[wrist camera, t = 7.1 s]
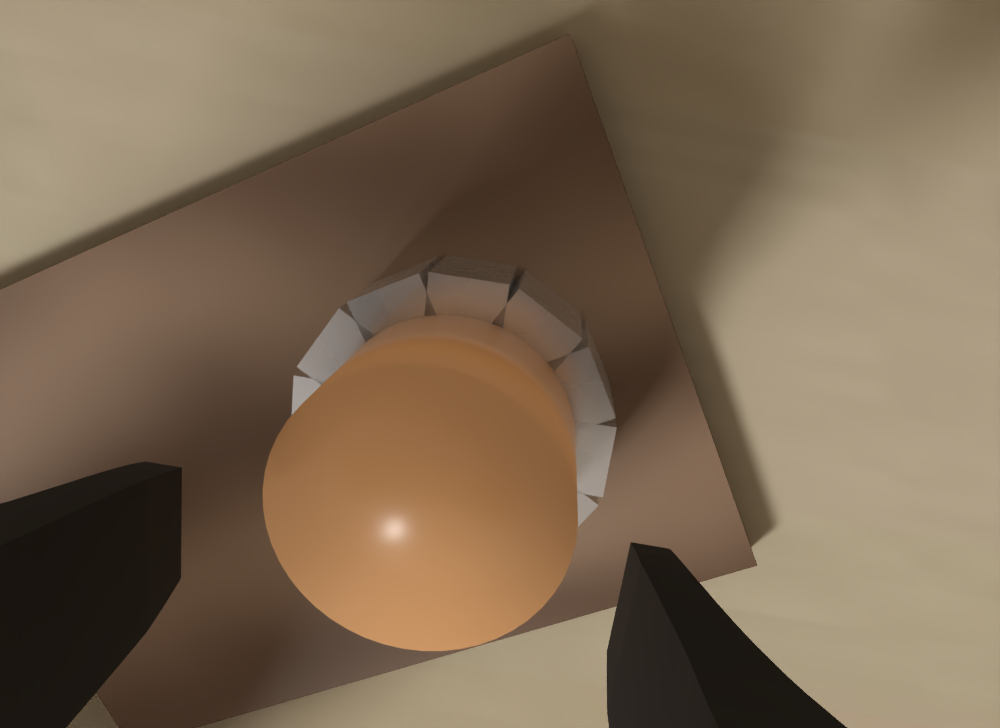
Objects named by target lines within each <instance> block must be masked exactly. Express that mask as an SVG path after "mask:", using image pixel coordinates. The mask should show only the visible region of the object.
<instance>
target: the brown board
mask: <svg viewBox="0 0 1000 728" xmlns="http://www.w3.org/2000/svg"><path fill="white" fill-rule="evenodd" d="M447 255H452V256H458V257H465V258H471V259H478V260H485V261H491V262H498V263H504V264H511V265H517V271H516V278H515V282H516V281H517V280H518V278H519V277H520V276H521V275H522V273H523V272H524V271H525V270H527V271H529V272H530V273H531V274H533V275H534V276H535V277H536V278H538V279H539V280H540V281H541V282H543V283H544V284H545V285H546V286H548V287H549V288H550V289H551V290H553V291H554V292H555V293H556V294H558V295H559V296H560V297H561V298H563V299H564V300H565V301H567V302H568V303H569V304H570V305H572V306H573V307H574V308H575V309H577V310H578V311H579V312H580V313H581V321H584V320H586V322H587V324H588V327H589V329H590V332H591V335H592V337H593V340H594V343H595V345H596V348H597V350H598V353H599V356H600V358H601V361H602V363H603V366H604V369H605V371H606V374H607V377H608V379H609V382H610V387H611V393H612V398H613V404H614V410H615V415H616V418H615V420H616V426H617V429H616V434H615V439H614V444H613V449H612V454H611V459H610V464H609V469H608V474H607V479H606V484H605V489H604V494H603V497H598V504H599V506H598V507H597V508H596V509H595V510H594V511H593V512H592V513H591V514H590V515H589V516H588V517H587V518H586V519H585V520H584V521H583V522H582V523H581V525H580V526H579V527H578V530H577V538H576V545H575V549H574V552H573V556H572V560H571V563H570V565H569V567H568V569H567V572H566V574H565V576H564V579H563V580H562V582H561V583H560V585H559V586H558V588H557V590H556V591H555V593H554V594H553V595H552V597H551V598H550V599H549V600H548V601H547V603H546V604H545V605H544V606H543V607H542V608H541V609H540V610H539V611H538V612H537V613H536V614H535V615H533V616H532V617H531V618H530V619H529V620H528V621H526V622H525V623H523V624H522V625H520V626H519V627H517V628H516V629H514V630H513V631H511V632H509V633H507V634H505V635H503V636H501V637H499V638H497V639H494V640H492V641H489V642H486V643H483V644H487V643H490V642H494V641H497V640H501V639H504V638H508V637H511V636H515V635H518V634H522V633H525V632H529V631H532V630H535V629H539V628H542V627H546V626H549V625H553V624H556V623H560V622H563V621H567V620H570V619H574V618H577V617H580V616H584V615H587V614H591V613H594V612H598V611H601V610H605V609H608V608H612V607H615V606H617V603H618V599H619V594H620V589H621V585H622V580H623V575H624V571H625V566H626V562H627V557H628V552H629V548H630V543H631V542H633V543H639V544H645V545H651V546H657V547H663V548H669V549H671V550H672V551H673V552H674V553H675V555H676V556H677V557H678V558H679V559H680V560H681V561H682V563H683V564H684V565H685V566H686V567H687V568H688V570H689V571H690V572H691V573H692V574H693V576H694V577H695V578H696V579H697V580H698V582H702V581H705V580H709V579H712V578H716V577H719V576H723V575H726V574H729V573H733V572H736V571H740V570H743V569H747V568H750V567H754V566H757V563H756V560H755V558H754V555H753V552H752V549H751V546H750V543H749V541H748V538H747V535H746V532H745V529H744V526H743V524H742V521H741V518H740V515H739V512H738V509H737V506H736V504H735V501H734V498H733V495H732V492H731V489H730V487H729V484H728V481H727V478H726V475H725V472H724V470H723V467H722V464H721V461H720V458H719V455H718V452H717V450H716V447H715V444H714V441H713V438H712V435H711V433H710V430H709V427H708V424H707V421H706V418H705V416H704V413H703V410H702V407H701V404H700V401H699V398H698V396H697V393H696V390H695V387H694V384H693V381H692V379H691V376H690V373H689V370H688V367H687V364H686V362H685V359H684V356H683V353H682V350H681V347H680V344H679V342H678V339H677V336H676V333H675V330H674V327H673V325H672V322H671V319H670V316H669V313H668V310H667V308H666V305H665V302H664V299H663V296H662V293H661V290H660V288H659V285H658V282H657V279H656V276H655V273H654V271H653V268H652V265H651V262H650V259H649V256H648V254H647V251H646V248H645V245H644V242H643V239H642V236H641V234H640V231H639V228H638V225H637V222H636V219H635V217H634V214H633V211H632V208H631V205H630V202H629V200H628V197H627V194H626V191H625V188H624V185H623V183H622V180H621V177H620V174H619V171H618V168H617V165H616V163H615V160H614V157H613V154H612V151H611V148H610V146H609V143H608V140H607V137H606V134H605V131H604V129H603V126H602V123H601V120H600V117H599V114H598V111H597V109H596V106H595V103H594V100H593V97H592V94H591V92H590V89H589V86H588V83H587V80H586V77H585V75H584V72H583V69H582V66H581V63H580V60H579V57H578V55H577V52H576V49H575V46H574V43H573V40H572V38H571V35H570V34H568V35H565V36H563V37H561V38H559V39H556V40H554V41H552V42H550V43H548V44H545V45H543V46H541V47H539V48H536V49H534V50H532V51H530V52H528V53H525V54H523V55H521V56H519V57H516V58H514V59H512V60H510V61H508V62H505V63H503V64H501V65H499V66H496V67H494V68H492V69H490V70H488V71H485V72H483V73H481V74H479V75H476V76H474V77H472V78H470V79H468V80H465V81H463V82H461V83H459V84H456V85H454V86H452V87H450V88H448V89H445V90H443V91H441V92H439V93H436V94H434V95H432V96H430V97H428V98H425V99H423V100H421V101H419V102H416V103H414V104H412V105H410V106H408V107H405V108H403V109H401V110H399V111H396V112H394V113H392V114H390V115H388V116H385V117H383V118H381V119H379V120H376V121H374V122H372V123H370V124H368V125H365V126H363V127H361V128H359V129H356V130H354V131H352V132H350V133H348V134H345V135H343V136H341V137H339V138H336V139H334V140H332V141H330V142H328V143H325V144H323V145H321V146H319V147H316V148H314V149H312V150H310V151H308V152H305V153H303V154H301V155H299V156H296V157H294V158H292V159H290V160H287V161H285V162H283V163H281V164H279V165H276V166H274V167H272V168H270V169H267V170H265V171H263V172H261V173H259V174H256V175H254V176H252V177H250V178H247V179H245V180H243V181H241V182H239V183H236V184H234V185H232V186H230V187H227V188H225V189H223V190H221V191H219V192H216V193H214V194H212V195H210V196H207V197H205V198H203V199H201V200H199V201H196V202H194V203H192V204H190V205H187V206H185V207H183V208H181V209H179V210H176V211H174V212H172V213H170V214H167V215H165V216H163V217H161V218H159V219H156V220H154V221H152V222H150V223H147V224H145V225H143V226H141V227H139V228H136V229H134V230H132V231H130V232H127V233H125V234H123V235H121V236H119V237H116V238H114V239H112V240H110V241H107V242H105V243H103V244H101V245H99V246H96V247H94V248H92V249H90V250H87V251H85V252H83V253H81V254H79V255H76V256H74V257H72V258H70V259H67V260H65V261H63V262H61V263H59V264H56V265H54V266H52V267H50V268H47V269H45V270H43V271H41V272H39V273H36V274H34V275H32V276H30V277H27V278H25V279H23V280H21V281H19V282H16V283H14V284H12V285H10V286H7V287H5V288H3V289H1V290H0V504H1V503H4V502H8V501H11V500H15V499H18V498H21V497H24V496H27V495H30V494H34V493H37V492H40V491H43V490H46V489H49V488H53V487H56V486H59V485H62V484H65V483H68V482H71V481H75V480H78V479H81V478H84V477H87V476H91V475H94V474H97V473H100V472H104V471H107V470H111V469H114V468H118V467H122V466H125V465H130V464H134V463H139V462H145V461H146V462H152V463H158V464H164V465H170V466H176V467H182V526H181V579H180V581H179V582H178V584H177V586H176V587H175V589H174V591H173V592H172V594H171V596H170V597H169V599H168V600H167V602H166V604H165V605H164V607H163V609H162V610H161V612H160V613H159V615H158V616H157V618H156V619H155V621H154V622H153V624H152V625H151V627H150V628H149V630H148V631H147V632H146V634H145V635H144V636H143V637H142V639H141V640H140V641H139V642H138V643H137V645H136V646H135V647H134V648H133V649H132V651H131V652H130V653H129V654H128V655H127V657H126V658H125V659H124V660H123V661H122V663H121V664H120V665H119V666H118V667H117V669H116V670H115V671H114V672H113V673H112V674H111V676H110V677H109V678H108V679H107V680H106V681H105V683H104V684H103V685H102V686H101V687H100V688H99V690H98V691H97V692H96V693H97V694H98V696H99V697H100V699H101V700H102V702H103V703H104V705H105V707H106V708H107V710H108V711H109V713H110V714H111V716H112V717H113V719H114V721H115V722H116V724H117V725H118V727H119V728H196V727H199V726H203V725H206V724H210V723H213V722H217V721H220V720H224V719H227V718H231V717H234V716H237V715H241V714H244V713H248V712H251V711H255V710H258V709H262V708H265V707H269V706H272V705H276V704H279V703H283V702H286V701H289V700H293V699H296V698H300V697H303V696H307V695H310V694H314V693H317V692H321V691H324V690H328V689H331V688H334V687H338V686H341V685H345V684H348V683H352V682H355V681H359V680H362V679H366V678H369V677H373V676H376V675H380V674H383V673H386V672H390V671H393V670H397V669H400V668H404V667H407V666H411V665H414V664H418V663H421V662H425V661H428V660H432V659H435V658H438V657H442V656H445V655H449V654H452V653H456V652H459V651H463V650H466V649H470V648H473V647H477V646H480V645H483V644H480V645H477V646H472V647H468V648H463V649H457V650H448V651H417V650H409V649H402V648H397V647H393V646H389V645H385V644H381V643H378V642H376V641H373V640H370V639H367V638H364V637H362V636H360V635H358V634H356V633H354V632H352V631H350V630H348V629H346V628H344V627H343V626H341V625H340V624H338V623H336V622H335V621H333V620H332V619H330V618H329V617H328V616H326V615H325V614H324V613H322V612H321V611H320V610H319V609H317V608H316V607H315V606H314V605H313V604H312V603H311V602H310V601H309V600H308V599H307V598H306V597H305V596H304V595H303V594H302V593H301V592H300V591H299V589H298V588H297V587H296V586H295V584H294V583H293V582H292V581H291V579H290V578H289V577H288V575H287V573H286V572H285V570H284V568H283V567H282V565H281V564H280V562H279V560H278V558H277V555H276V553H275V551H274V549H273V547H272V544H271V541H270V538H269V535H268V531H267V528H266V523H265V517H264V511H263V482H264V474H265V469H266V465H267V462H268V458H269V454H270V452H271V449H272V447H273V445H274V443H275V440H276V438H277V436H278V434H279V433H280V431H281V430H282V428H283V427H284V425H285V423H286V422H287V420H288V419H289V418H290V417H291V415H292V396H293V378H294V375H295V374H296V373H297V372H298V371H300V369H299V368H298V367H297V366H298V364H299V363H300V362H301V360H302V359H303V357H304V356H305V355H306V353H307V352H308V350H309V349H310V348H311V346H312V345H313V343H314V342H315V341H316V339H317V338H318V337H319V335H320V334H321V332H322V331H323V330H324V328H325V327H326V325H327V324H328V323H329V321H330V320H331V318H332V317H333V316H334V314H335V313H336V312H337V310H338V309H339V308H340V307H341V306H343V305H344V304H345V303H347V302H348V301H349V300H350V299H352V298H353V297H355V296H356V295H357V294H359V293H360V292H362V291H363V290H364V289H366V288H367V287H369V286H370V285H372V284H373V283H374V282H376V281H378V280H380V279H383V278H385V277H388V276H390V275H393V274H395V273H398V272H400V271H403V270H405V269H408V268H410V267H413V266H415V265H418V264H420V263H423V262H425V261H428V260H430V259H432V258H435V257H437V256H439V258H440V260H441V261H442V260H443V259H444V258H445V257H446V256H447Z"/></svg>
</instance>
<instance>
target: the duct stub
mask: <svg viewBox="0 0 1000 728" xmlns="http://www.w3.org/2000/svg"><path fill="white" fill-rule="evenodd" d="M516 271H517V265H511V264H504V263H498V262H491V261H485V260H478V259H471V258H465V257H458V256H452V255H447V256H446V257H445V258H444V259H443V260H442V261H441V260H440V258H439V256H437V257H435V258H432V259H430V260H428V261H425V262H423V263H420V264H418V265H415V266H413V267H410V268H408V269H405V270H403V271H400V272H398V273H395V274H393V275H390V276H388V277H385V278H383V279H380V280H378V281H376V282H374V283H373V284H372V285H370V286H369V287H367V288H366V289H364V290H363V291H362V292H360V293H359V294H357V295H356V296H355V297H353V298H352V299H350V300H349V301H348V302H347V303H345V304H344V305H343V306H341V307H340V308H339V309H338V310H337V312H336V313H335V314H334V316H333V317H332V318H331V320H330V321H329V323H328V324H327V325H326V327H325V328H324V330H323V331H322V332H321V334H320V335H319V337H318V338H317V339H316V341H315V342H314V343H313V345H312V346H311V348H310V349H309V350H308V352H307V353H306V355H305V356H304V357H303V359H302V360H301V362H300V363H299V364H298V366H297V367H298V368H299V369H300V371H298V372H297V373H296V374H295V375H294V378H293V396H292V414H293V413H294V412H295V411H296V410H297V409H298V408H299V406H300V405H301V404H302V403H303V402H304V401H305V400H306V399H308V398H309V397H310V396H311V395H312V394H313V393H314V392H315V391H316V390H317V389H318V388H319V387H320V386H321V385H322V384H323V383H324V382H325V381H326V380H327V379H328V378H329V377H330V376H331V375H332V374H333V373H334V372H335V371H336V370H337V369H338V368H339V367H340V366H341V365H342V364H343V363H345V362H346V361H347V360H348V359H349V358H350V357H351V356H352V355H353V354H354V353H355V352H356V351H357V350H358V349H359V348H360V347H361V346H362V345H364V344H365V343H366V342H367V341H368V340H369V339H371V338H372V337H374V336H375V335H377V334H378V333H380V332H381V331H383V330H385V329H387V328H389V327H391V326H394V325H396V324H398V323H401V322H404V321H407V320H410V319H414V318H419V317H425V316H431V315H455V316H465V317H470V318H474V319H479V320H483V321H486V322H488V323H491V324H494V325H497V326H499V327H501V328H503V329H505V330H507V331H509V332H511V333H513V334H514V335H516V336H517V337H519V338H520V339H522V340H523V341H525V342H526V343H528V344H529V345H530V346H531V347H532V348H533V349H534V350H536V351H537V352H538V353H539V354H540V355H541V356H542V357H543V358H544V360H545V361H546V362H547V363H548V364H549V365H550V367H551V368H552V369H553V371H554V372H555V374H556V375H557V377H558V378H559V380H560V381H561V383H562V385H563V387H564V390H565V392H566V394H567V396H568V399H569V402H570V405H571V408H572V411H573V416H574V422H575V431H576V467H577V502H578V527H579V526H580V525H581V523H582V522H583V521H584V520H585V519H586V518H587V517H588V516H589V515H590V514H591V513H592V512H593V511H594V510H595V509H596V508H597V507H598V506H599V504H598V497H603V494H604V489H605V484H606V479H607V474H608V469H609V464H610V459H611V454H612V449H613V444H614V439H615V434H616V429H617V426H616V420H615V418H616V415H615V410H614V404H613V398H612V393H611V387H610V382H609V379H608V377H607V374H606V371H605V369H604V366H603V363H602V361H601V358H600V356H599V353H598V350H597V348H596V345H595V343H594V340H593V337H592V335H591V332H590V329H589V327H588V324H587V322H586V320H584V321H581V313H580V312H579V311H578V310H577V309H575V308H574V307H573V306H572V305H570V304H569V303H568V302H567V301H565V300H564V299H563V298H561V297H560V296H559V295H558V294H556V293H555V292H554V291H553V290H551V289H550V288H549V287H548V286H546V285H545V284H544V283H543V282H541V281H540V280H539V279H538V278H536V277H535V276H534V275H533V274H531V273H530V272H529V271H527V270H525V271H524V272H523V273H522V275H521V276H520V277H519V278H518V280H517V281H516V282H515V278H516ZM291 416H292V415H291Z"/></svg>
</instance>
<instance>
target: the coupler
mask: <svg viewBox="0 0 1000 728" xmlns="http://www.w3.org/2000/svg"><path fill="white" fill-rule="evenodd" d="M263 511H264V517H265V523H266V528H267V531H268V535H269V538H270V541H271V544H272V547H273V549H274V551H275V553H276V555H277V558H278V560H279V562H280V564H281V565H282V567H283V568H284V570H285V572H286V573H287V575H288V577H289V578H290V579H291V581H292V582H293V583H294V584H295V586H296V587H297V588H298V589H299V591H300V592H301V593H302V594H303V595H304V596H305V597H306V598H307V599H308V600H309V601H310V602H311V603H312V604H313V605H314V606H315V607H316V608H317V609H319V610H320V611H321V612H322V613H324V614H325V615H326V616H328V617H329V618H330V619H332V620H333V621H335V622H336V623H338V624H340V625H341V626H343V627H344V628H346V629H348V630H350V631H352V632H354V633H356V634H358V635H360V636H362V637H364V638H367V639H370V640H373V641H376V642H378V643H381V644H385V645H389V646H393V647H397V648H402V649H409V650H417V651H448V650H457V649H463V648H468V647H472V646H477V645H480V644H483V643H486V642H489V641H492V640H494V639H497V638H499V637H501V636H503V635H505V634H507V633H509V632H511V631H513V630H514V629H516V628H517V627H519V626H520V625H522V624H523V623H525V622H526V621H528V620H529V619H530V618H531V617H532V616H533V615H535V614H536V613H537V612H538V611H539V610H540V609H541V608H542V607H543V606H544V605H545V604H546V603H547V601H548V600H549V599H550V598H551V597H552V595H553V594H554V593H555V591H556V590H557V588H558V586H559V585H560V583H561V582H562V580H563V579H564V576H565V574H566V572H567V569H568V567H569V565H570V563H571V560H572V556H573V552H574V549H575V545H576V538H577V530H578V502H577V467H576V431H575V422H574V416H573V411H572V408H571V405H570V402H569V399H568V396H567V394H566V392H565V390H564V387H563V385H562V383H561V381H560V380H559V378H558V377H557V375H556V374H555V372H554V371H553V369H552V368H551V367H550V365H549V364H548V363H547V362H546V361H545V360H544V358H543V357H542V356H541V355H540V354H539V353H538V352H537V351H536V350H534V349H533V348H532V347H531V346H530V345H529V344H528V343H526V342H525V341H523V340H522V339H520V338H519V337H517V336H516V335H514V334H513V333H511V332H509V331H507V330H505V329H503V328H501V327H499V326H497V325H494V324H491V323H488V322H486V321H483V320H479V319H474V318H470V317H465V316H455V315H431V316H425V317H419V318H414V319H410V320H407V321H404V322H401V323H398V324H396V325H394V326H391V327H389V328H387V329H385V330H383V331H381V332H380V333H378V334H377V335H375V336H374V337H372V338H371V339H369V340H368V341H367V342H366V343H365V344H364V345H362V346H361V347H360V348H359V349H358V350H357V351H356V352H355V353H354V354H353V355H352V356H351V357H350V358H349V359H348V360H347V361H346V362H345V363H343V364H342V365H341V366H340V367H339V368H338V369H337V370H336V371H335V372H334V373H333V374H332V375H331V376H330V377H329V378H328V379H327V380H326V381H325V382H324V383H323V384H322V385H321V386H320V387H319V388H318V389H317V390H316V391H315V392H314V393H313V394H312V395H311V396H310V397H309V398H308V399H306V400H305V401H304V402H303V403H302V404H301V405H300V406H299V408H298V409H297V410H296V411H295V412H294V413H293V414H292V416H291V417H290V418H289V419H288V420H287V422H286V423H285V425H284V427H283V428H282V430H281V431H280V433H279V434H278V436H277V438H276V440H275V443H274V445H273V447H272V449H271V452H270V454H269V458H268V462H267V465H266V469H265V474H264V482H263Z"/></svg>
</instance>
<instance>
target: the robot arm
mask: <svg viewBox="0 0 1000 728" xmlns="http://www.w3.org/2000/svg"><path fill="white" fill-rule="evenodd" d="M181 526H182V467H176V466H170V465H164V464H158V463H152V462H146V461H145V462H139V463H134V464H130V465H125V466H122V467H118V468H114V469H111V470H107V471H104V472H100V473H97V474H94V475H91V476H87V477H84V478H81V479H78V480H75V481H71V482H68V483H65V484H62V485H59V486H56V487H53V488H49V489H46V490H43V491H40V492H37V493H34V494H30V495H27V496H24V497H21V498H18V499H15V500H11V501H8V502H4V503H1V504H0V728H66V727H67V726H68V725H69V724H70V722H71V721H72V720H73V719H74V718H75V717H76V715H77V714H78V713H79V712H80V711H81V709H82V708H83V707H84V706H85V705H86V704H87V702H88V701H89V700H90V699H91V698H92V697H93V695H94V694H95V693H96V692H97V691H98V690H99V688H100V687H101V686H102V685H103V684H104V683H105V681H106V680H107V679H108V678H109V677H110V676H111V674H112V673H113V672H114V671H115V670H116V669H117V667H118V666H119V665H120V664H121V663H122V661H123V660H124V659H125V658H126V657H127V655H128V654H129V653H130V652H131V651H132V649H133V648H134V647H135V646H136V645H137V643H138V642H139V641H140V640H141V639H142V637H143V636H144V635H145V634H146V632H147V631H148V630H149V628H150V627H151V625H152V624H153V622H154V621H155V619H156V618H157V616H158V615H159V613H160V612H161V610H162V609H163V607H164V605H165V604H166V602H167V600H168V599H169V597H170V596H171V594H172V592H173V591H174V589H175V587H176V586H177V584H178V582H179V581H180V579H181ZM607 713H608V722H609V728H847V727H845V726H844V725H843V724H842V723H841V722H839V721H838V720H837V719H836V718H835V717H833V716H832V715H831V714H830V713H829V712H828V711H826V710H825V709H824V708H823V707H822V706H820V705H819V704H818V703H817V702H816V701H814V700H813V699H812V698H811V697H810V696H809V695H807V694H806V693H805V692H804V691H803V690H802V689H801V688H799V687H798V686H797V685H796V684H795V683H794V682H793V681H792V680H791V679H790V678H788V677H787V676H786V675H785V674H784V673H783V672H782V671H781V670H780V669H779V668H778V667H777V666H776V665H775V664H774V663H773V662H772V661H771V660H770V659H769V658H768V657H767V656H766V655H765V654H764V653H763V652H762V651H761V650H760V649H759V648H758V647H757V646H756V645H755V644H754V643H753V642H752V641H751V640H750V639H749V638H748V637H747V636H746V635H745V634H744V633H743V631H742V630H741V629H740V628H739V627H738V626H737V625H736V624H735V623H734V622H733V621H732V619H731V618H730V617H729V616H728V615H727V614H726V613H725V612H724V611H723V609H722V608H721V607H720V606H719V605H718V604H717V603H716V601H715V600H714V599H713V598H712V597H711V596H710V595H709V593H708V592H707V591H706V590H705V589H704V587H703V586H702V585H701V584H700V583H699V582H698V580H697V579H696V578H695V577H694V576H693V574H692V573H691V572H690V571H689V570H688V568H687V567H686V566H685V565H684V564H683V563H682V561H681V560H680V559H679V558H678V557H677V556H676V555H675V553H674V552H673V551H672V550H671V549H669V548H663V547H657V546H651V545H645V544H639V543H633V542H631V543H630V548H629V552H628V557H627V562H626V566H625V571H624V575H623V580H622V585H621V589H620V594H619V599H618V603H617V608H616V612H615V617H614V622H613V626H612V631H611V636H610V640H609V645H608V649H607Z"/></svg>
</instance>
